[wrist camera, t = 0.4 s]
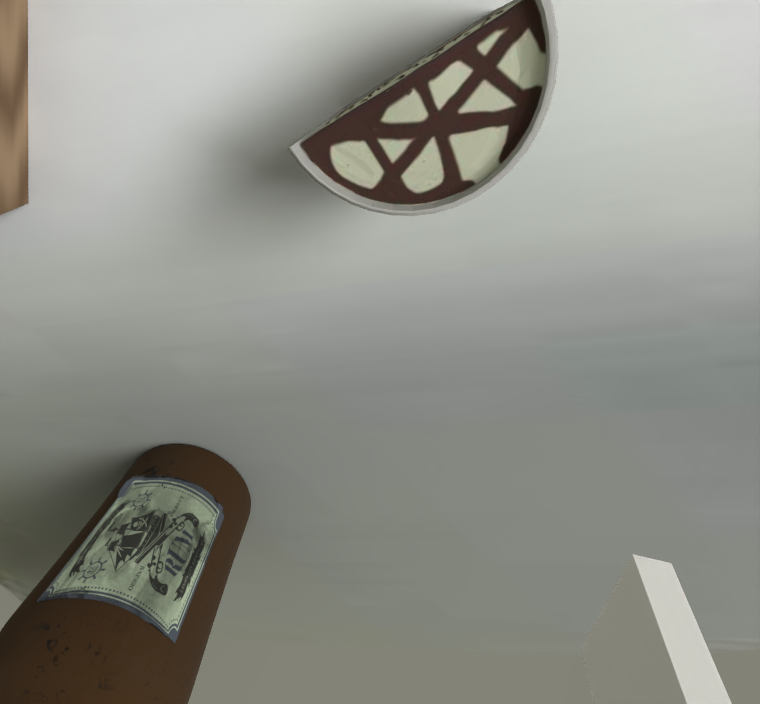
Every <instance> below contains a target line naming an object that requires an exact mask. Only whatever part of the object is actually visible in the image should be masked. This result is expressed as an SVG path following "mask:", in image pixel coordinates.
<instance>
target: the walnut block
mask: <svg viewBox="0 0 760 704" xmlns="http://www.w3.org/2000/svg"><path fill="white" fill-rule="evenodd" d="M27 203H28V0H0V215H1V214H4V213H6V212H8V211H11V210H13V209H15V208H18V207H20V206H23V205H25V204H27Z"/></svg>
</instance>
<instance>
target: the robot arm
mask: <svg viewBox="0 0 760 704" xmlns="http://www.w3.org/2000/svg"><path fill="white" fill-rule="evenodd" d="M581 651H582V655H583V660H584V664H585V669H586V673H587V678H588V682H589V687H590V691H591V695H592V700H593V704H731V701H730V699H729V697H728V694H727V692H726V690H725V687H724V685H723V683H722V680H721V678H720V676H719V674H718V671H717V669H716V666H715V664H714V662H713V659H712V657H711V655H710V652H709V650H708V648H707V645H706V643H705V641H704V638H703V636H702V634H701V631H700V629H699V627H698V624H697V622H696V620H695V617H694V615H693V613H692V610H691V608H690V606H689V603H688V601H687V599H686V596H685V594H684V592H683V589H682V587H681V585H680V583H679V580H678V578H677V576H676V573H675V571H674V569H673V566H672V564H671V563H667V562H663V561H659V560H654V559H650V558H646V557H642V556H637V555H632V557H631V559H630V560H629V562H628V564H627V566H626V568H625V570H624V572H623V573H622V575H621V577H620V579H619V581H618V583H617V584H616V586H615V588H614V590H613V592H612V594H611V595H610V597H609V599H608V601H607V603H606V605H605V607H604V608H603V610H602V612H601V614H600V616H599V618H598V619H597V621H596V623H595V625H594V627H593V629H592V631H591V632H590V634H589V636H588V638H587V640H586V642H585V643H584V645H583V647H582V649H581Z"/></svg>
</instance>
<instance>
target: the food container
mask: <svg viewBox="0 0 760 704" xmlns="http://www.w3.org/2000/svg"><path fill="white" fill-rule="evenodd" d="M557 64H558V35H557V26H556V21H555V15H554V10H553V5H552V2H551V0H513V1H511V2H509V3H507V4H506V5H504V6H502V7H500V8H498V9H496V10H494V11H493V12H491V13H490V14H488V15H487V16H485V17H484V18H482V19H480V20H479V21H477V22H476V23H474V24H473V25H471V26H470V27H468V28H467V29H465V30H463V31H462V32H460V33H459V34H457V35H456V36H454V37H453V38H451V39H449V40H448V41H446V42H445V43H443V44H442V45H440V46H439V47H437V48H436V49H434V50H432V51H431V52H429V53H428V54H426V55H425V56H423V57H422V58H420V59H419V60H417V61H415V62H414V63H412V64H411V65H409V66H408V67H406V68H405V69H403V70H401V71H400V72H398V73H397V74H395V75H394V76H392V77H391V78H389V79H388V80H386V81H384V82H383V83H381V84H380V85H378V86H377V87H375V88H374V89H372V90H370V91H369V92H367V93H366V94H364V95H363V96H361V97H360V98H358V99H357V100H355V101H353V102H352V103H350V104H349V105H347V106H346V107H344V108H343V109H341V110H340V111H338V112H337V113H336V114H334V115H333V116H332V117H330V118H329V119H327V120H326V121H325V122H323V123H322V124H321V125H319V126H318V127H317V128H315V129H314V130H312V131H311V132H310V133H308V134H307V135H306V136H304V137H303V138H302V139H300V140H299V141H297V142H296V143H295V144H293V145H291V146H289V147H288V149H289V151H290V152H291V153H292V155H293V156H294V157H295V159H296V160H297V162H298V163H299V164H300V165H301V166H302V167H303V168H304V170H305V171H306V172H307V173H308V174H309V175H310V176H311V177H312V178H313V179H314V180H315V181H316V182H318V183H319V184H320V185H322V186H323V187H324V188H326V189H327V190H328V191H330V192H331V193H332V194H334V195H336V196H338V197H340V198H341V199H343V200H345V201H347V202H349V203H351V204H353V205H356V206H358V207H361V208H364V209H367V210H370V211H373V212H378V213H384V214H389V215H402V216H416V215H424V214H432V213H437V212H440V211H444V210H447V209H451V208H454V207H457V206H459V205H461V204H463V203H465V202H468V201H470V200H472V199H474V198H476V197H477V196H479V195H480V194H482V193H483V192H485V191H486V190H488V189H489V188H491V187H492V186H494V185H495V184H496V183H497V182H498V181H499V180H501V179H502V178H503V177H504V176H505V175H506V174H507V173H508V172H509V171H510V170H512V169H513V167H514V166H515V165H516V164H517V162H518V161H519V160H520V159H521V158H522V156H523V155H524V154H525V153H526V151H527V150H528V148H529V147H530V145H531V143H532V142H533V140H534V138H535V137H536V135H537V133H538V132H539V130H540V128H541V125H542V123H543V121H544V118H545V116H546V113H547V111H548V109H549V106H550V102H551V98H552V94H553V90H554V86H555V82H556V73H557Z"/></svg>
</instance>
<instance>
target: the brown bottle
mask: <svg viewBox="0 0 760 704" xmlns="http://www.w3.org/2000/svg"><path fill="white" fill-rule="evenodd" d="M250 508H251V500H250V494H249V491H248V488H247V486H246V483H245V482H244V480H243V478H242V477H241V475H240V474H239V473H238V472H237V470H236V469H235V468H234V467H233V466H232V465H231V464H229V463H228V462H227V461H226V460H224V459H223V458H221V457H220V456H218V455H216V454H214V453H212V452H210V451H208V450H205V449H203V448H199V447H196V446H191V445H184V444H171V445H164V446H160V447H157V448H154V449H152V450H150V451H148V452H146V453H145V454H143V455H142V456H141V457H140V458H138V459H137V460H136V462H135V463H134V464H133V465H132V466H131V468H130V469H129V470H128V472H127V473H126V474H125V475H124V477H123V478H122V479H121V481H120V482H119V483H118V485H117V486H116V487H115V489H114V490H113V491H112V493H111V494H110V495H109V496H108V498H107V499H106V500H105V502H104V503H103V504H102V506H101V507H100V508H99V509H98V511H97V512H96V513H95V514H94V516H93V517H92V518H91V519H90V521H89V522H88V523H87V524H86V526H85V527H84V528H83V529H82V530H81V532H80V533H79V534H78V535H77V537H76V538H75V539H74V540H73V542H72V543H71V544H70V545H69V547H68V548H67V549H66V550H65V552H64V553H63V554H62V555H61V557H60V558H59V559H58V560H57V562H56V563H55V564H54V565H53V566H52V568H51V569H50V570H49V571H48V572H47V574H46V575H45V576H44V577H43V579H42V580H41V581H40V582H39V583H38V585H37V586H36V587H35V588H34V590H33V591H32V592H31V593H30V594H29V596H28V597H27V598H26V599H25V600H24V602H23V603H22V604H21V605H20V607H19V608H18V609H17V610H16V611H15V613H14V614H13V615H12V616H11V618H10V619H9V620H8V622H7V623H6V624H5V626H4V627H3V628H2V630H1V632H0V704H188V701H189V698H190V695H191V692H192V689H193V686H194V683H195V680H196V676H197V673H198V670H199V667H200V663H201V660H202V657H203V654H204V651H205V648H206V644H207V641H208V638H209V635H210V632H211V628H212V625H213V622H214V619H215V616H216V613H217V610H218V607H219V604H220V601H221V597H222V594H223V591H224V588H225V585H226V582H227V579H228V576H229V573H230V570H231V567H232V564H233V561H234V558H235V555H236V552H237V550H238V547H239V544H240V541H241V538H242V535H243V533H244V530H245V527H246V524H247V521H248V518H249V514H250Z"/></svg>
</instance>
